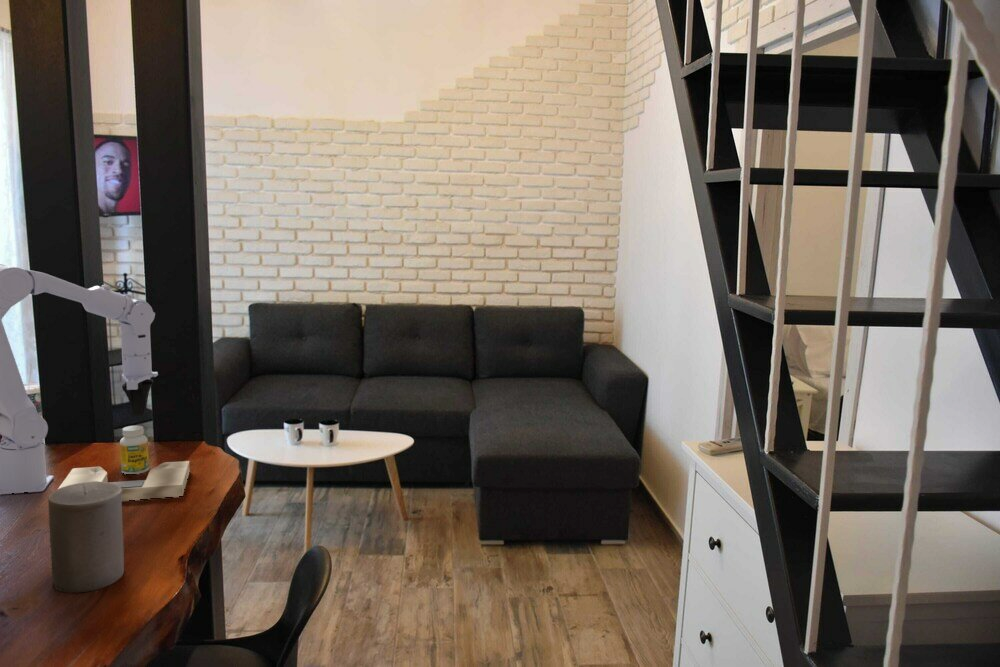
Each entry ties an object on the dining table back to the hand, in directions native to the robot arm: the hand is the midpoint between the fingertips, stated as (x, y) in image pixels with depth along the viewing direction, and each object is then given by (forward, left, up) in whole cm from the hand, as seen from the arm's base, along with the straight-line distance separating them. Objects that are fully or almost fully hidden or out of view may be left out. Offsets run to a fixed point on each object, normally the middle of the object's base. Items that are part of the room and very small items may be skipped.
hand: (139, 413), depth 160 cm
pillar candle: (+1, -55, -11) cm, 56 cm away
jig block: (0, -18, -10) cm, 21 cm away
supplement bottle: (0, -8, -11) cm, 13 cm away
